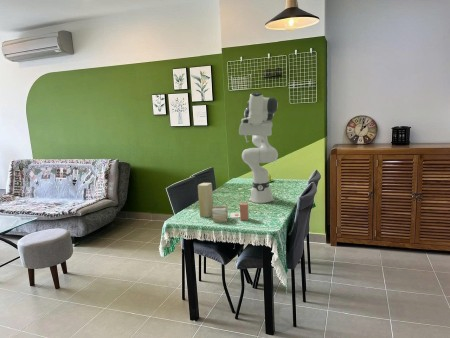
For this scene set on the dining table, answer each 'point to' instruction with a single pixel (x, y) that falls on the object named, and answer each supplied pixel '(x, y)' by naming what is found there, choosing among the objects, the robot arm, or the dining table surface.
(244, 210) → the tall brick
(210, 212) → the tall beige pillar
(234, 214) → the page
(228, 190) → the dining table surface
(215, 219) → the tower base
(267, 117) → the robot arm
